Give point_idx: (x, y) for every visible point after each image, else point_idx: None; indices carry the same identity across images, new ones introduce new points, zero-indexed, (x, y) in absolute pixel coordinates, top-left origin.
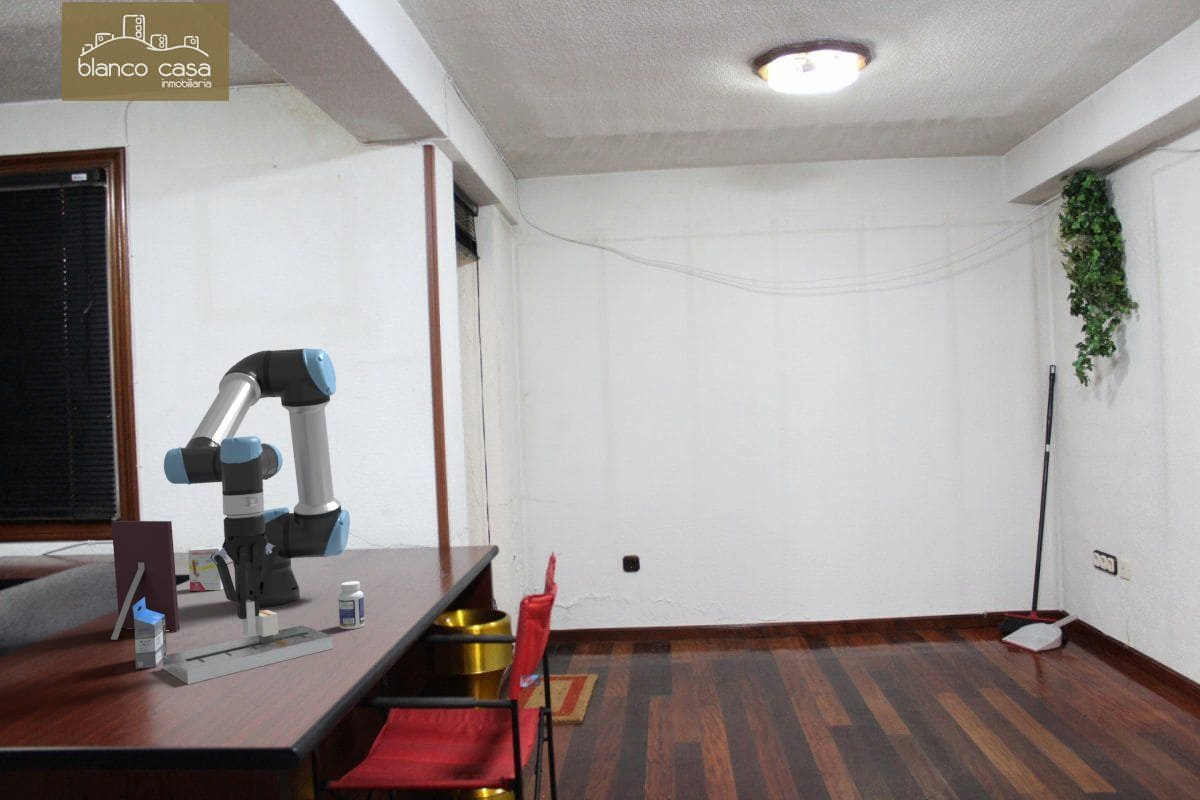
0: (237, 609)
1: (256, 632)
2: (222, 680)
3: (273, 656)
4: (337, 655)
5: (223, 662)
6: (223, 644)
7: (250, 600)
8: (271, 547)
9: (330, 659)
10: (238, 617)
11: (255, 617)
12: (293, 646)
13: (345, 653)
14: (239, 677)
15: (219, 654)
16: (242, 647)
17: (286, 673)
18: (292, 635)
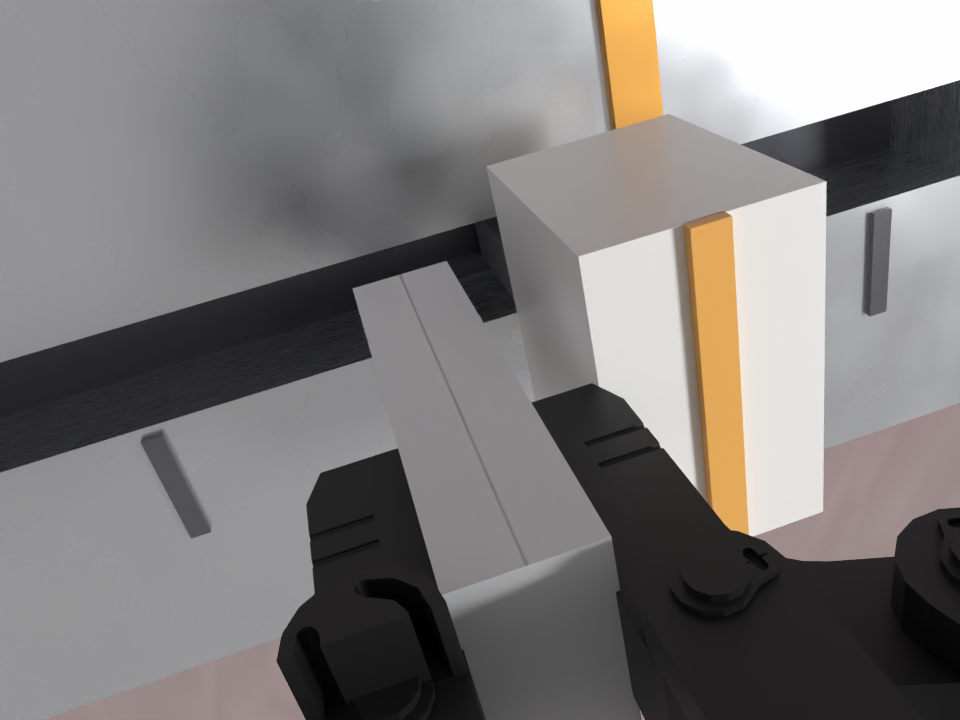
0: (317, 589)
1: (510, 264)
2: (147, 690)
3: None
4: (874, 504)
5: (142, 683)
6: (93, 22)
7: (611, 635)
8: None
9: (810, 560)
10: (318, 487)
11: (573, 337)
12: None
13: (923, 487)
14: (262, 673)
15: (83, 456)
16: (322, 259)
17: None
18: (839, 111)
